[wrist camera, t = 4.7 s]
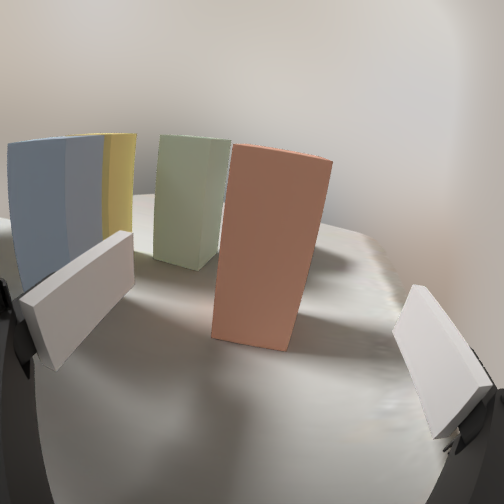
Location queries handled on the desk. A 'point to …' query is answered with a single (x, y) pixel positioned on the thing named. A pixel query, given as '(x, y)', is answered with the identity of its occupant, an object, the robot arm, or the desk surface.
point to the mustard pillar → (117, 182)
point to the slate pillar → (54, 202)
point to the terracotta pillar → (267, 243)
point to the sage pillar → (189, 199)
